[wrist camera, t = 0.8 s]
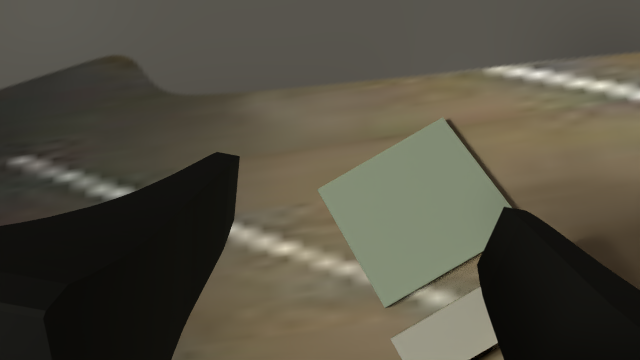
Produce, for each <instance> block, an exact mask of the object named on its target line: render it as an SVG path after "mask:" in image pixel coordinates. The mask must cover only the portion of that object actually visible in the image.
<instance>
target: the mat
mask: <svg viewBox="0 0 640 360" xmlns="http://www.w3.org/2000/svg"><path fill="white" fill-rule="evenodd" d="M317 190H318V192H319V194H320V195H321V197H322V199H323V201H324V202H325V204H326V206H327V208H328V209H329V211H330V213H331V215H332V216H333V218H334V220H335V221H336V223H337V225H338V227H339V228H340V230H341V232H342V234H343V235H344V237H345V239H346V241H347V242H348V244H349V246H350V248H351V249H352V251H353V253H354V255H355V256H356V258H357V260H358V262H359V263H360V265H361V267H362V269H363V270H364V272H365V274H366V276H367V277H368V279H369V281H370V283H371V284H372V286H373V288H374V290H375V291H376V293H377V295H378V297H379V298H380V300H381V302H382V304H383V305H384V307H385V308H386V307H388V306H390V305H391V304H393V303H395V302H397V301H398V300H400V299H402V298H403V297H405V296H407V295H409V294H410V293H412V292H414V291H415V290H417V289H419V288H421V287H422V286H424V285H426V284H428V283H429V282H431V281H433V280H434V279H436V278H438V277H440V276H441V275H443V274H445V273H447V272H448V271H450V270H452V269H453V268H455V267H457V266H459V265H460V264H462V263H464V262H466V261H467V260H469V259H471V258H472V257H474V256H476V255H478V254H479V253H481V252H483V251H484V249H485V247H486V244H487V242H488V240H489V238H490V236H491V234H492V231H493V229H494V227H495V225H496V223H497V221H498V218H499V216H500V214H501V212H502V210H503V208H504V207H509V208H512V207H511V206H510V205H509V203H508V202H507V201H506V199H505V198H504V197H503V195H502V194H501V193H500V192H499V190H498V189H497V188H496V186H495V185H494V184H493V182H492V181H491V180H490V179H489V177H488V176H487V175H486V173H485V172H484V171H483V169H482V168H481V167H480V165H479V164H478V163H477V162H476V160H475V159H474V158H473V156H472V155H471V154H470V152H469V151H468V150H467V148H466V147H465V146H464V145H463V143H462V142H461V141H460V139H459V138H458V137H457V135H456V134H455V133H454V131H453V130H452V129H451V128H450V126H449V125H448V124H447V122H446V121H445V120H444V118H441V119H439V120H437V121H436V122H434V123H432V124H430V125H429V126H427V127H425V128H423V129H422V130H420V131H418V132H416V133H415V134H413V135H411V136H409V137H408V138H406V139H404V140H403V141H401V142H399V143H397V144H396V145H394V146H392V147H390V148H389V149H387V150H385V151H383V152H382V153H380V154H378V155H376V156H375V157H373V158H371V159H369V160H368V161H366V162H364V163H363V164H361V165H359V166H357V167H356V168H354V169H352V170H350V171H349V172H347V173H345V174H343V175H342V176H340V177H338V178H336V179H335V180H333V181H331V182H329V183H328V184H326V185H324V186H323V187H321V188H319V189H317Z"/></svg>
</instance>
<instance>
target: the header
mask: <svg viewBox="0 0 640 360" xmlns="http://www.w3.org/2000/svg"><path fill="white" fill-rule="evenodd" d="M391 341H392V342H393V344H394V346H395V348H396V349H397V351H398V353H399V355H400V357H401V358H402V360H469V359H471V358H473V357H474V356H476V355H478V354H480V353H481V352H483V351H485V350H486V349H488V348H490V347H492V346H493V345H495V344H497V343H498V341H497V338H496V335H495V333H494V330H493V327H492V324H491V321H490V318H489V315H488V312H487V309H486V306H485V303H484V300H483V296H482V291H481V286H480V287H478V288H476V289H475V290H473V291H471V292H470V293H468V294H466V295H464V296H463V297H461V298H459V299H457V300H456V301H454V302H452V303H451V304H449V305H447V306H445V307H444V308H442V309H440V310H439V311H437V312H435V313H433V314H432V315H430V316H428V317H426V318H425V319H423V320H421V321H420V322H418V323H416V324H414V325H413V326H411V327H409V328H408V329H406V330H404V331H402V332H401V333H399V334H397V335H395V336H394V337H392V338H391Z"/></svg>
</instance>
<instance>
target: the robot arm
mask: <svg viewBox="0 0 640 360" xmlns="http://www.w3.org/2000/svg"><path fill="white" fill-rule="evenodd" d="M239 158H240V156H235V155H230V154H225V153H220V152H216V153H214V154H211V155H209V156H207V157H206V158H204V159H202V160H200V161H198V162H196V163H194V164H192V165H190V166H188V167H186V168H184V169H183V170H181V171H179V172H177V173H175V174H173V175H171V176H169V177H167V178H164V179H162V180H160V181H158V182H155V183H153V184H151V185H149V186H146V187H144V188H142V189H140V190H137V191H135V192H132V193H130V194H127V195H124V196H122V197H119V198H116V199H113V200H110V201H107V202H104V203H101V204H98V205H94V206H91V207H87V208H83V209H79V210H75V211H71V212H67V213H63V214H59V215H55V216H52V217H47V218H42V219H37V220H32V221H27V222H22V223H16V224H10V225H4V226H0V360H171V359H172V356H173V354H174V351H175V348H176V346H177V343H178V341H179V338H180V336H181V333H182V331H183V328H184V326H185V324H186V322H187V320H188V317H189V315H190V313H191V311H192V309H193V307H194V306H195V304H196V302H197V300H198V298H199V296H200V294H201V292H202V290H203V288H204V286H205V284H206V282H207V280H208V279H209V277H210V275H211V273H212V271H213V269H214V267H215V265H216V263H217V261H218V259H219V257H220V255H221V253H222V251H223V249H224V247H225V244H226V241H227V238H228V236H229V233H230V230H231V227H232V224H233V221H234V215H235V203H236V192H237V180H238V169H239ZM477 267H478V274H479V280H480V286H481V291H482V296H483V300H484V303H485V306H486V309H487V312H488V315H489V318H490V321H491V324H492V327H493V330H494V333H495V335H496V338H497V341H498V344H499V347H500V350H501V353H502V356H503V359H504V360H640V290H639V289H637V288H636V287H634V286H633V285H631V284H630V283H628V282H627V281H625V280H624V279H622V278H621V277H619V276H618V275H616V274H615V273H613V272H612V271H611V270H609V269H608V268H606V267H605V266H604V265H602V264H601V263H599V262H598V261H597V260H595V259H594V258H592V257H591V256H590V255H588V254H587V253H586V252H584V251H583V250H582V249H580V248H579V247H578V246H576V245H575V244H574V243H572V242H571V241H570V240H568V239H567V238H566V237H564V236H563V235H562V234H560V233H559V232H557V231H556V230H555V229H553V228H552V227H551V226H549V225H548V224H546V223H545V222H544V221H542V220H541V219H539V218H538V217H536V216H534V215H533V214H531V213H529V212H528V211H525V210H519V209H514V208H509V207H504V208H503V210H502V212H501V214H500V216H499V218H498V221H497V223H496V225H495V227H494V229H493V231H492V234H491V236H490V238H489V240H488V242H487V244H486V247H485V249H484V251H483V253H482V255H481V257H480V260H479V262H478V264H477Z"/></svg>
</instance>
